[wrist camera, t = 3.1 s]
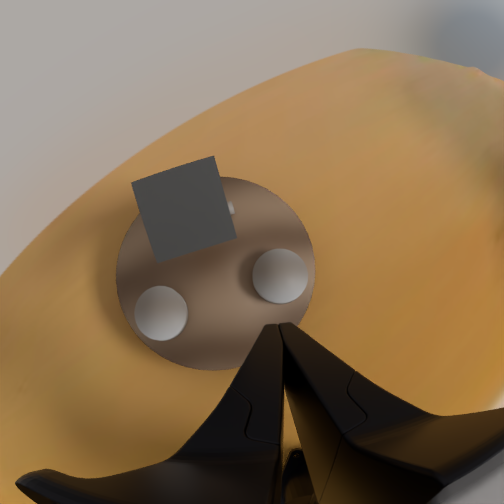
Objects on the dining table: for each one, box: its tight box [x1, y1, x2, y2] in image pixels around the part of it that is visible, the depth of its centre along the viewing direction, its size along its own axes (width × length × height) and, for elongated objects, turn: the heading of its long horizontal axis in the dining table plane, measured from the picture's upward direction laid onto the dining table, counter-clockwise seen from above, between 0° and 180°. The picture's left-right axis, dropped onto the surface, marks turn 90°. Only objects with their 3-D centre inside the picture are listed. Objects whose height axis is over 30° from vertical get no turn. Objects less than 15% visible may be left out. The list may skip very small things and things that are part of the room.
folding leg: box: [131, 156, 237, 263], centre depth 16 cm, size 4×4×10 cm
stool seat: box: [116, 177, 315, 370], centre depth 21 cm, size 15×15×4 cm
